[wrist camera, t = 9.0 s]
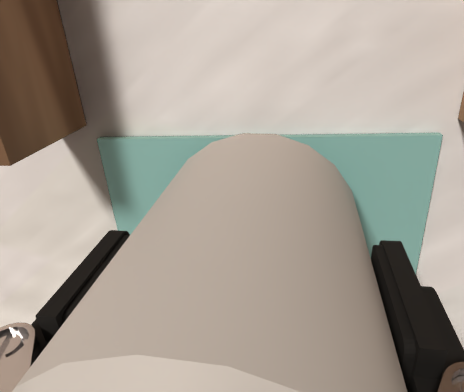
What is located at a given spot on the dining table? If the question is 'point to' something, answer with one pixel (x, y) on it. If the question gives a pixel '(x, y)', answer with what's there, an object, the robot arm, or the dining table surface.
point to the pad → (328, 145)
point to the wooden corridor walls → (38, 80)
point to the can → (233, 287)
